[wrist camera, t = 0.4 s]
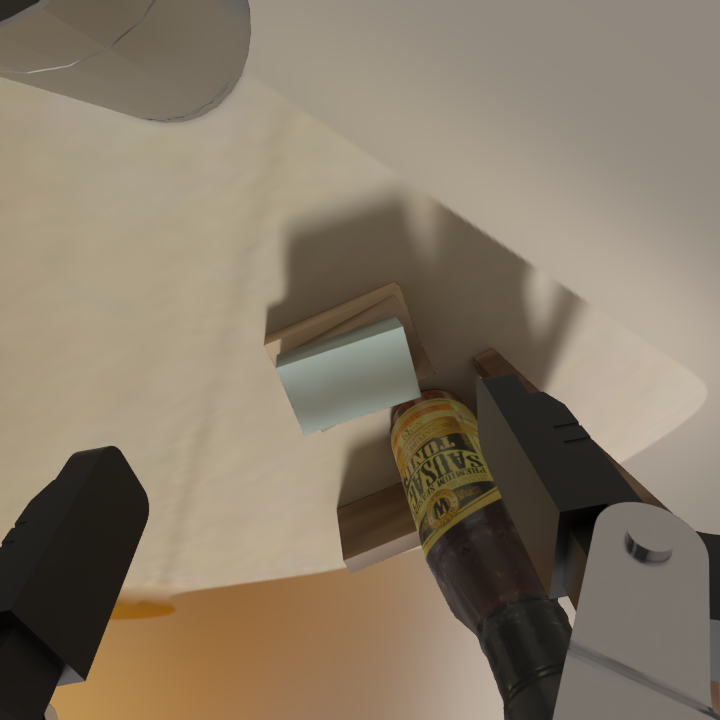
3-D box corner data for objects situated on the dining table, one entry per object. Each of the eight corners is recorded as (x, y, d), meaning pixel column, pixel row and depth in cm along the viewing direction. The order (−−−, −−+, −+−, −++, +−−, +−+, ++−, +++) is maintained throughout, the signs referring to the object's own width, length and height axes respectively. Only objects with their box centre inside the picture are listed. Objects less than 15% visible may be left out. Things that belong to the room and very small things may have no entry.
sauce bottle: (429, 368, 31) (620, 652, 13) (483, 416, 33) (708, 713, 15) (365, 431, 32) (458, 765, 14) (421, 473, 35) (562, 805, 17)
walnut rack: (292, 432, 32) (296, 774, 14) (493, 348, 31) (758, 592, 13) (344, 523, 36) (397, 876, 18) (521, 450, 35) (752, 739, 18)
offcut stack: (265, 335, 29) (260, 371, 24) (394, 280, 28) (416, 305, 23) (304, 409, 31) (307, 456, 26) (423, 360, 31) (448, 397, 26)
